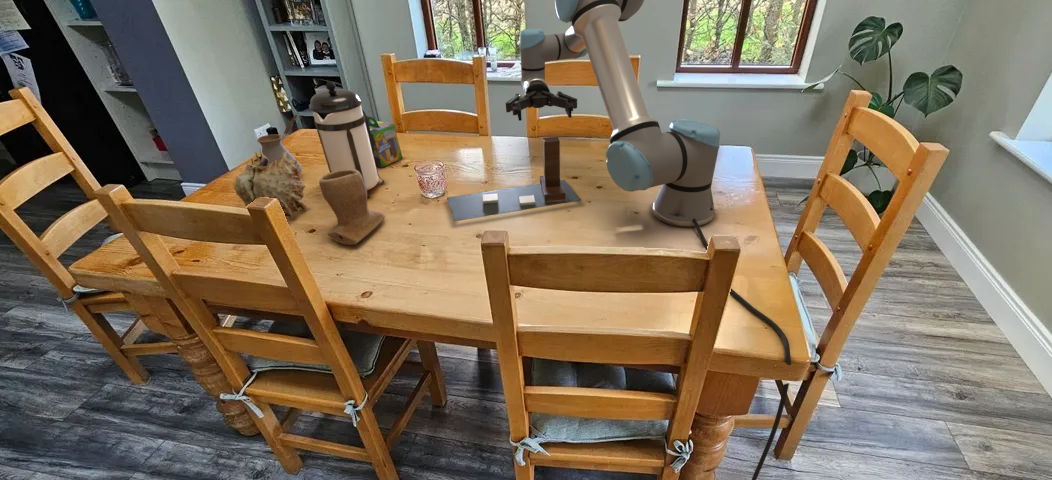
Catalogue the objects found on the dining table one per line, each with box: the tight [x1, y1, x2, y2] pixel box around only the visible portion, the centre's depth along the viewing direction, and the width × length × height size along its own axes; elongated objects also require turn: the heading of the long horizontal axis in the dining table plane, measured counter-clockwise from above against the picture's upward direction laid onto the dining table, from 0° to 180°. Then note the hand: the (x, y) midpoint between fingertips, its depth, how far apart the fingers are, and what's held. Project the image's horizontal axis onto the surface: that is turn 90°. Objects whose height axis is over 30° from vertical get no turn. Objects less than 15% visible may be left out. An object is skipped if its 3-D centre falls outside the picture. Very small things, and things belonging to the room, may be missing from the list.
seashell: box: [232, 148, 308, 220], centre depth 125 cm, size 18×18×15 cm
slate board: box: [446, 179, 582, 222], centre depth 131 cm, size 14×34×2 cm, turn 108°
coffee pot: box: [256, 114, 303, 175], centre depth 148 cm, size 21×12×15 cm, turn 172°
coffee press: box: [308, 81, 385, 199], centre depth 133 cm, size 17×16×30 cm
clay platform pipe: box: [318, 169, 386, 246], centre depth 117 cm, size 15×12×15 cm
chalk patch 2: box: [519, 195, 535, 206], centre depth 129 cm, size 4×4×1 cm
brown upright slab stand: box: [539, 136, 565, 203], centre depth 129 cm, size 12×6×15 cm, turn 8°
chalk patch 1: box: [483, 194, 498, 204], centre depth 130 cm, size 4×4×1 cm
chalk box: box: [366, 115, 403, 169], centre depth 154 cm, size 9×9×15 cm
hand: (545, 114), depth 131 cm, fingers open, 13 cm apart
